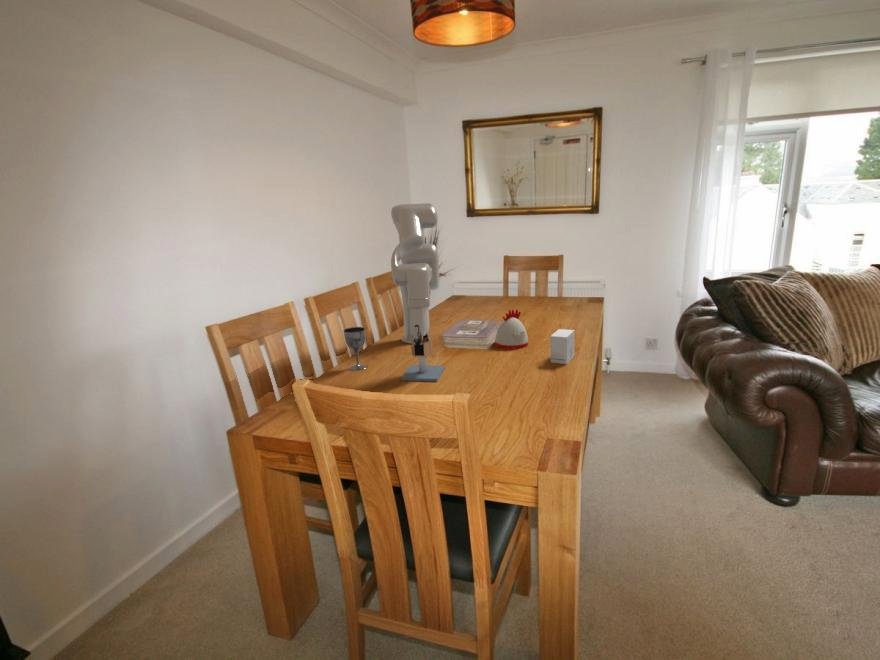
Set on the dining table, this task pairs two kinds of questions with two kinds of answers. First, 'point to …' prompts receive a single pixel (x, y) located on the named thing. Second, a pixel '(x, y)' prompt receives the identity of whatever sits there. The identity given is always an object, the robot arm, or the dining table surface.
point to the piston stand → (423, 371)
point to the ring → (427, 347)
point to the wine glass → (355, 344)
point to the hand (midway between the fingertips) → (422, 351)
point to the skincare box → (562, 346)
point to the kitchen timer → (511, 332)
